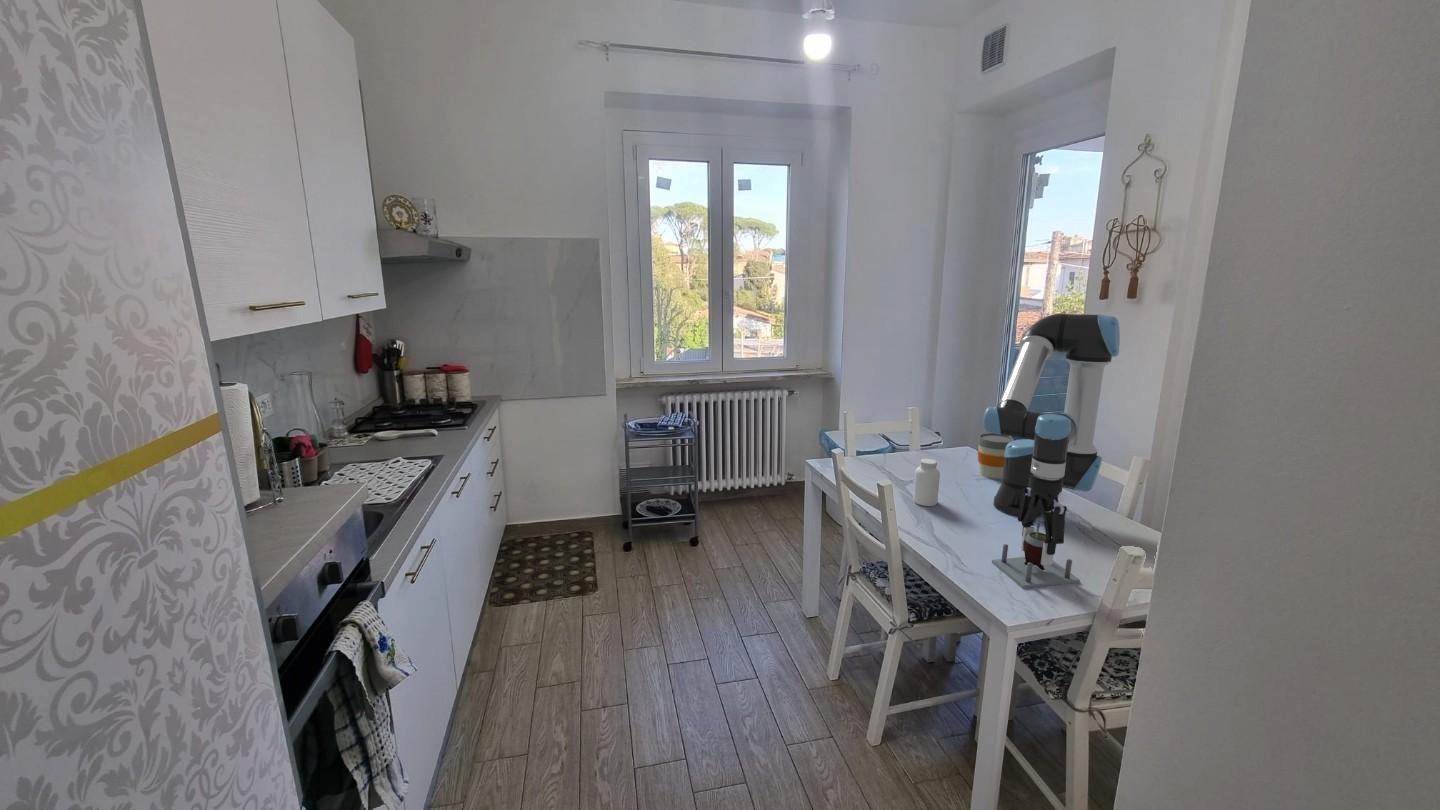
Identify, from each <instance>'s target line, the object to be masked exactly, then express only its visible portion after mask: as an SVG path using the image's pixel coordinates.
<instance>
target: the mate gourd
mask: <svg viewBox="0 0 1440 810" xmlns="http://www.w3.org/2000/svg"><path fill="white" fill-rule="evenodd" d="M1040 522H1041V520H1040V518H1039V519H1038V518H1036V524H1035V527H1036V529H1035V531H1034V532H1032V533H1029V534H1028V535H1027V536H1026V537H1025V539H1024V542H1023V548H1024V551H1023V552H1024V557H1025V560H1026V562H1024V564H1025V565H1027V564H1028V563H1029V562H1030V563H1032V564H1033V565H1036V566H1038V567H1039V568H1040V569H1041V570H1044V569H1045V568H1044V565H1041V558H1042V550H1043V542H1044V541H1046V533H1042V532H1040V531H1039V530H1040V527H1041V524H1040Z"/></svg>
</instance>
